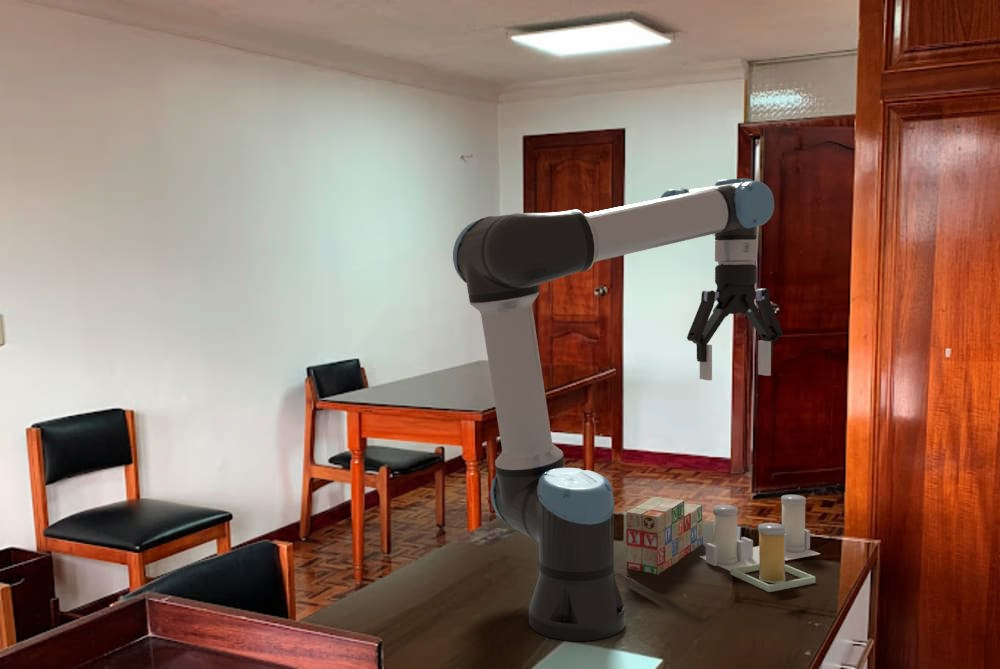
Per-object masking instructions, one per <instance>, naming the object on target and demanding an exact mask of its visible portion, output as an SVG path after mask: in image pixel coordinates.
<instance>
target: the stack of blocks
mask: <svg viewBox="0 0 1000 669" xmlns="http://www.w3.org/2000/svg"><path fill="white" fill-rule="evenodd" d="M625 514H626V515H625V516H626V532H625V534H626V535H625V538H626V541H625V542H626V569H627V570H633V571H637V572H644V573H649V574H653V575H660V574H661V573H663V572H664V571H665V570H667V569H669V568H670V567H672V566H673V565H674V564H676V563H677V562H680V560H681V559H682V558H684V557H686V556H687V555H688V554H689V553H692V552H693V551H695V550H697V549H698V548H699V547H700V546H701V545H704V544H703V543H704V521H703V505H702V504H695V503H686V502H685V499H675V498H674V499H673V498H668V497H659V496H653V497H651V498H650V499H648V500H646V501H645V502H643V503H642V504H639V505H637V506H635V507H633V508H631V509H628V510H627V511H626V513H625ZM627 576H628V577H627V578H630V576H629V575H627Z"/></svg>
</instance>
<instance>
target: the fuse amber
mask: <svg viewBox="0 0 1000 669" xmlns="http://www.w3.org/2000/svg"><path fill="white" fill-rule="evenodd" d="M757 528H758V546H759V563H760V570H759V576H758V580H760V581H762V582H765V583H770V584H775V583H780V582H785V581H786V580H787V579H786V572H785V563H786V561H785V545H784V533H785V526H784V525H782V523H777V522H775V523H774V522H762V523H759V524H758V527H757Z"/></svg>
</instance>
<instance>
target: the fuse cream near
mask: <svg viewBox="0 0 1000 669" xmlns="http://www.w3.org/2000/svg"><path fill="white" fill-rule="evenodd" d="M738 512H739V511H738V507H737V506H736V505H731V504H715V505H713V506H712V514H713V519H712V520H713V521H712V522H713V524H712V525H713V526H712V527H713V528H712V529H713V530H712V540H713V541H712V544H713V545H715V546H718V564H720V565H734V564H736V563H737V539H738Z"/></svg>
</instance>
